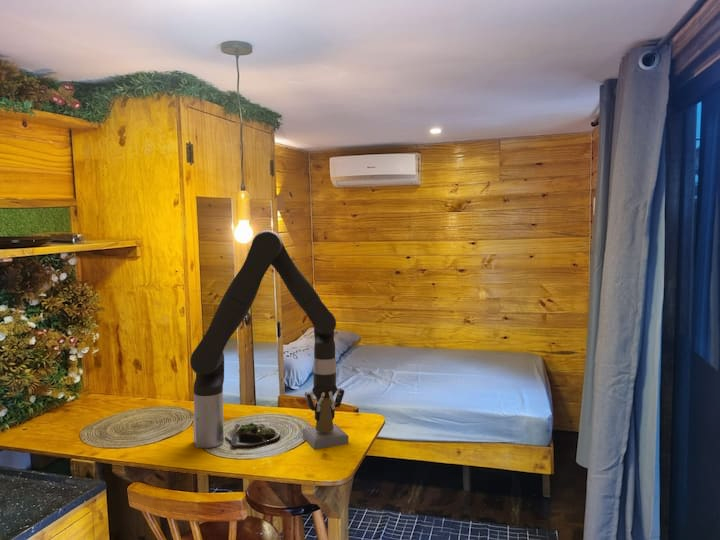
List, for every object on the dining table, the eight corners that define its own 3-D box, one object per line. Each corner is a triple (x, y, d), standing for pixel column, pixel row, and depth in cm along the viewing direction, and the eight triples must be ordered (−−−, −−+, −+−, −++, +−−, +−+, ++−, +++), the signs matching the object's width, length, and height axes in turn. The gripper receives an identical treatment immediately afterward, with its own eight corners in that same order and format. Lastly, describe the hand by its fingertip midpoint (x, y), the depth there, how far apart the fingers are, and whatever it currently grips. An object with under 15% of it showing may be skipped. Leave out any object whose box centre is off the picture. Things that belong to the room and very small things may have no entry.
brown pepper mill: (322, 433, 179) (322, 400, 178) (311, 428, 183) (311, 396, 182) (337, 429, 183) (337, 397, 182) (326, 423, 187) (326, 392, 186)
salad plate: (214, 434, 189) (213, 421, 188) (261, 423, 199) (261, 411, 198) (235, 453, 173) (235, 439, 172) (286, 441, 183) (286, 427, 183)
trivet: (314, 449, 175) (314, 441, 175) (302, 436, 186) (302, 428, 186) (348, 443, 180) (348, 435, 180) (335, 430, 191) (335, 423, 191)
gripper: (308, 375, 175) (308, 427, 176) (348, 371, 181) (348, 421, 182) (300, 370, 182) (301, 420, 183) (340, 365, 188) (340, 414, 189)
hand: (324, 420), depth 183 cm, fingers closed on brown pepper mill, 4 cm apart
